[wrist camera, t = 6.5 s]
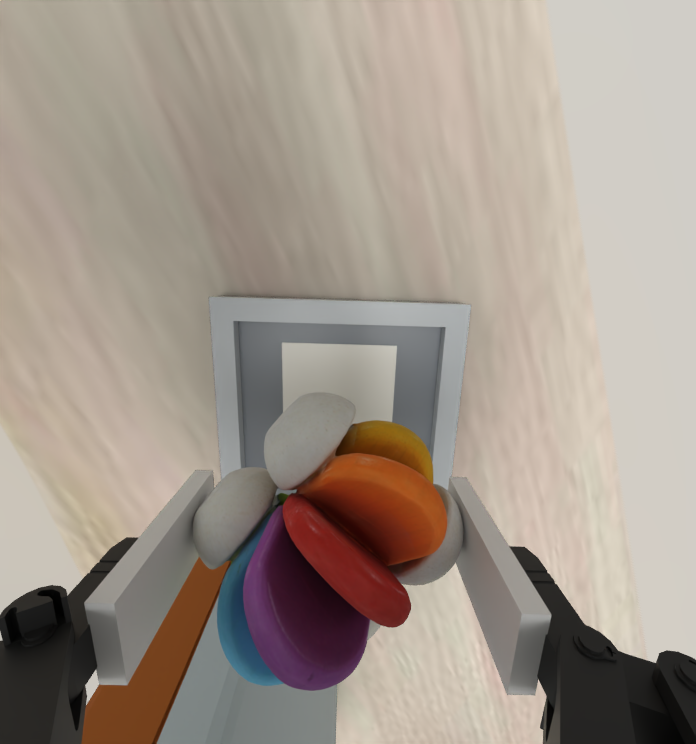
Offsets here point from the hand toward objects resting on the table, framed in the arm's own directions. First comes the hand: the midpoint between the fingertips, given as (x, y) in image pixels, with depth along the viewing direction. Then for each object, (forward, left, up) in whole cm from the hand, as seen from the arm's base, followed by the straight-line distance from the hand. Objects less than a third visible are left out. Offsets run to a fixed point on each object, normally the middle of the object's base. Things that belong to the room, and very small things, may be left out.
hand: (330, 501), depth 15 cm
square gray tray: (0, 0, -12) cm, 12 cm away
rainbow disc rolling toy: (0, 0, -1) cm, 1 cm away
